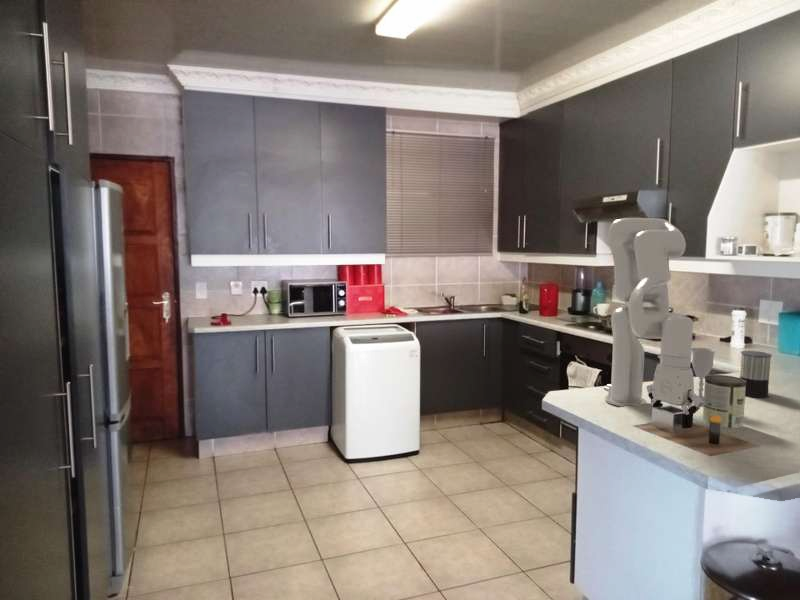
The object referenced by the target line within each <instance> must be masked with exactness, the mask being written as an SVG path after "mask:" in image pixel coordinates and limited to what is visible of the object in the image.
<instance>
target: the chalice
mask: <svg viewBox="0 0 800 600" xmlns="http://www.w3.org/2000/svg"><path fill="white" fill-rule="evenodd" d="M691 353H692V355H691V364H692V370H693V371H694V373H695V375H696V377H698V378H699V382H698V383H697V384H698V386H699V387H698V388H697V390H698V394H697V396H698V397H699V398H700V399H701V400H703V403H702V405H701V407H704V394H703V391H704V390H705V388H703V387H704V386H705V382H704V379H705V376H708V375H709V374H710V372H711V370H712V368H713V366H714V357H715V353H716V350H715V349H712V348H709V347H708V348H705V347H692V349H691ZM692 405H694V401H693V403H692Z"/></svg>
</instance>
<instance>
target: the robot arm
mask: <svg viewBox="0 0 800 600" xmlns="http://www.w3.org/2000/svg"><path fill="white" fill-rule="evenodd" d="M609 226H610V227H609V229H608V234H607V235H608V236H607V237H608V239H607V240H608V246H609V250H610V252H611V256H612V260H613V273H614V274H613V275H614V276H613V277H614V293H615V297H616V299H617V300H618V301H619V302H622V303H628V306H622V307H618V308H616V309H615V310H614V311H613V312H612V313H611V317H610V321H611V322H610V324H611V325H610V326H611V330H612V332H611V333H612V362H611V380H610V381H611V383H608V384H606V386H604V387H603V390H604V391H605V392H608V393H607V394H608V395H605V397H604V399H605V402H606V403H608V404H610V405H613V406H615V407H616V406H617V407H622V408H623V407H624V408H625V407H632V406H639V405H646V404H647V400H646V399H645V398H643V384H644V383H643V381H644V366H645V365H644V364H645V348H644V347H643V344H642V343H641V342H640V340H639V339H649V340H650V339H651V340H652V339H654V340H655V339H658V340H660V353H659V354H658V355H657V359H659V363H657V365H656V368H655V371H654V375H653V382H652V384H649V385H646V390H647V391H646V392H647V395H648V397H649V399H650V403H651V404H652V408H653V407H660V406H664V403H667V404H669V405H672V406H676V407H680V408H682V409H683V411H684V412H685V414H683V415H682V428H684V429H687V428H692V424H693V423H694V414H696V413H697V412H698V411H699V410H700V409H701V407H702V406H701V405H702V403H703V400H701V399H700V398H699V397H698V394H697V393H695V391H694V390H695V387H694V386H695V385H694V374H693V368H691V364H692V350H691V349H692V348H693V346H692V345H693V331H694V329H693V328H694V323H693V319H691V318H690V317H688V316H683V315H681V314H679V313H678V312H670V302H669V300H670V298H669V289H668V284H667V283H668V282H670V280H671V278H672V274H671V271H670V265H669V260H668V259H678V258H681V257H682V256H683V255H684V253H685V252H686V248H687V243H686V239H685V237H684V234H683V233H682V231H680V229H679V228H678V227H676V226H674V224H672V223H671V222H669V221H668V220H666V219H664V218H658V217H657V218H655V217H653V218H652V217H651V218H649V217H625V218H624V217H623V218H619V219H615V220H614V221H613V222H612V223H611V224H610V225H609ZM632 245H633V246H632ZM644 304H647V305H648V306H644ZM638 338H639V339H638ZM693 401H694V404H692V403H693ZM663 402H664V403H663Z"/></svg>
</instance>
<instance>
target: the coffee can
mask: <svg viewBox="0 0 800 600" xmlns="http://www.w3.org/2000/svg"><path fill="white" fill-rule="evenodd" d="M746 384H747V381H746V380H744V379H741V378H740V377H737V376H732V375H726V374H725V375H724V374H710V375H709V374H708V376H705V378H704V390H703V391H704V392H703V393H704V394H703V397H704V406H702V409H703V411H702V421H703V422H705V423H707V424H709V425H710V421H709V418H710V416H711V415H713V414H717V415H719V416H720V417H721V419H722V422H721V427H720V428H731V429H736V428H741V427H744V415H745V403H746V402H745V401H746V396H745V391H746Z"/></svg>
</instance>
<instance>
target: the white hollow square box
mask: <svg viewBox="0 0 800 600" xmlns="http://www.w3.org/2000/svg"><path fill="white" fill-rule="evenodd" d="M683 414H685V412H684V411H683V409H682V407H680V406H676V405H673V404H669V405H668V404H667V405H663V406H660V407H653V406H652V411H651V422H650V423H651V425H653V426H655V427H658V428H661V429H664V430H666V431H669V432H672V433H674V432H680V431H686V430H691V428H687V429H684V428H682V415H683Z"/></svg>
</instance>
